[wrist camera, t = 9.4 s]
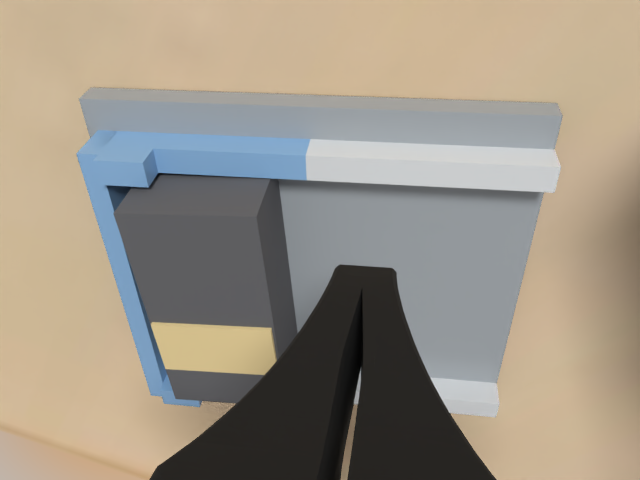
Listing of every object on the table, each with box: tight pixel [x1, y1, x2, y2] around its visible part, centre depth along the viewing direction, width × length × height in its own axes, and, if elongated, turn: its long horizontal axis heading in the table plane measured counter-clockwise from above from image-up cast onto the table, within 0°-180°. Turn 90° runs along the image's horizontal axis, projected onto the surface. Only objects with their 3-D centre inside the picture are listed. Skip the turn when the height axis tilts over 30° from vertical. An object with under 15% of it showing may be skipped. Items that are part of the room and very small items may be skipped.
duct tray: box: [77, 88, 563, 417], centre depth 25 cm, size 17×16×3 cm
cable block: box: [113, 173, 298, 403], centre depth 24 cm, size 5×10×4 cm, turn 4°
